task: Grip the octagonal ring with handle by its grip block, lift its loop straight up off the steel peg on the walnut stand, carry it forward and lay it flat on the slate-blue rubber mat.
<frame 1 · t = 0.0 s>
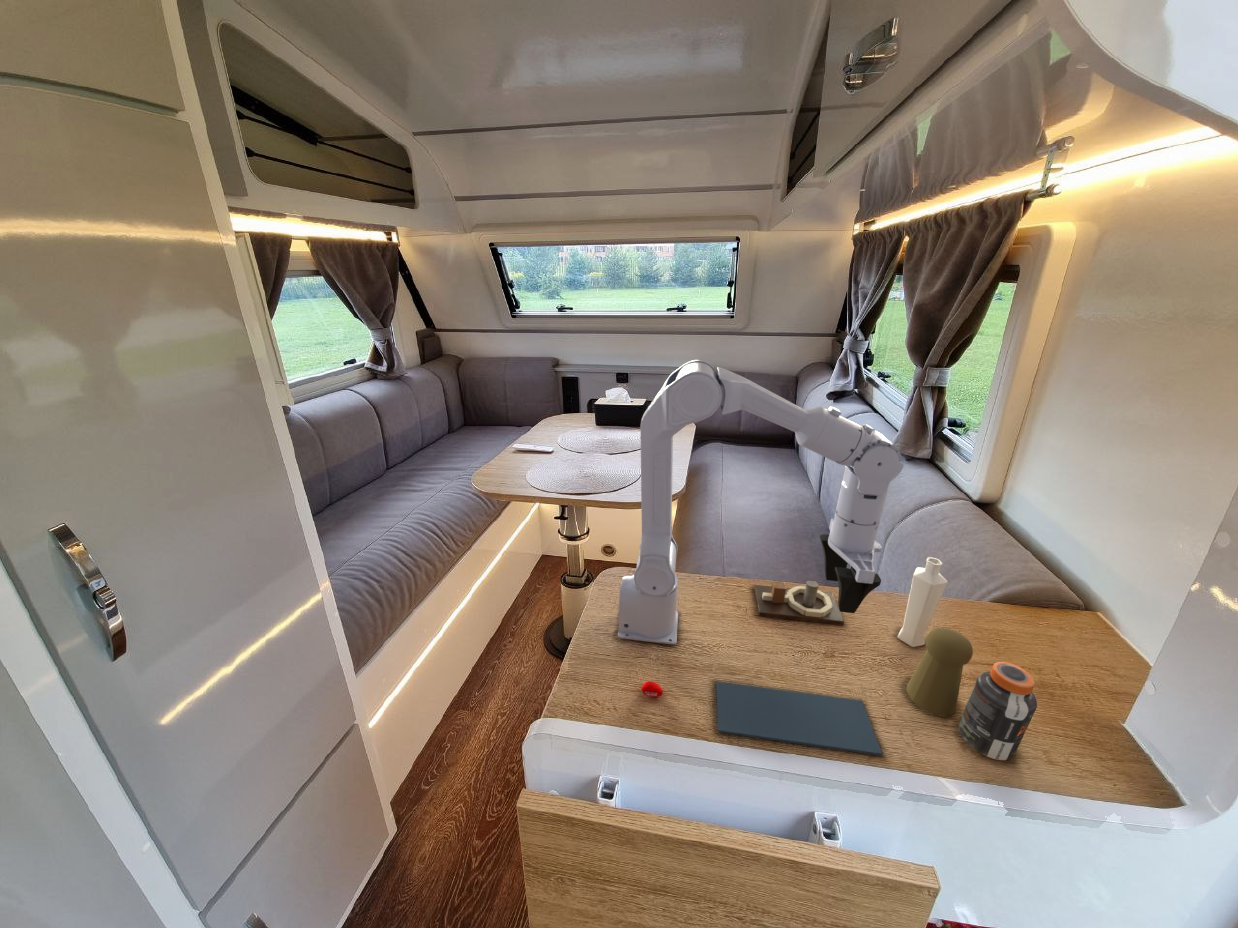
hand: (839, 594, 72), 10 cm above the table, tool pointing down, fingers open, 7 cm apart
peg stand: (807, 606, 85), on the table
pepper shaker: (930, 698, 67), on the table
pill bottle: (984, 741, 61), on the table
octagonal ring with handle: (808, 603, 85), point 1 cm above the table, touching peg stand
mat: (792, 716, 64), on the table
candy: (651, 695, 67), on the table
perfume bottle: (910, 640, 78), on the table
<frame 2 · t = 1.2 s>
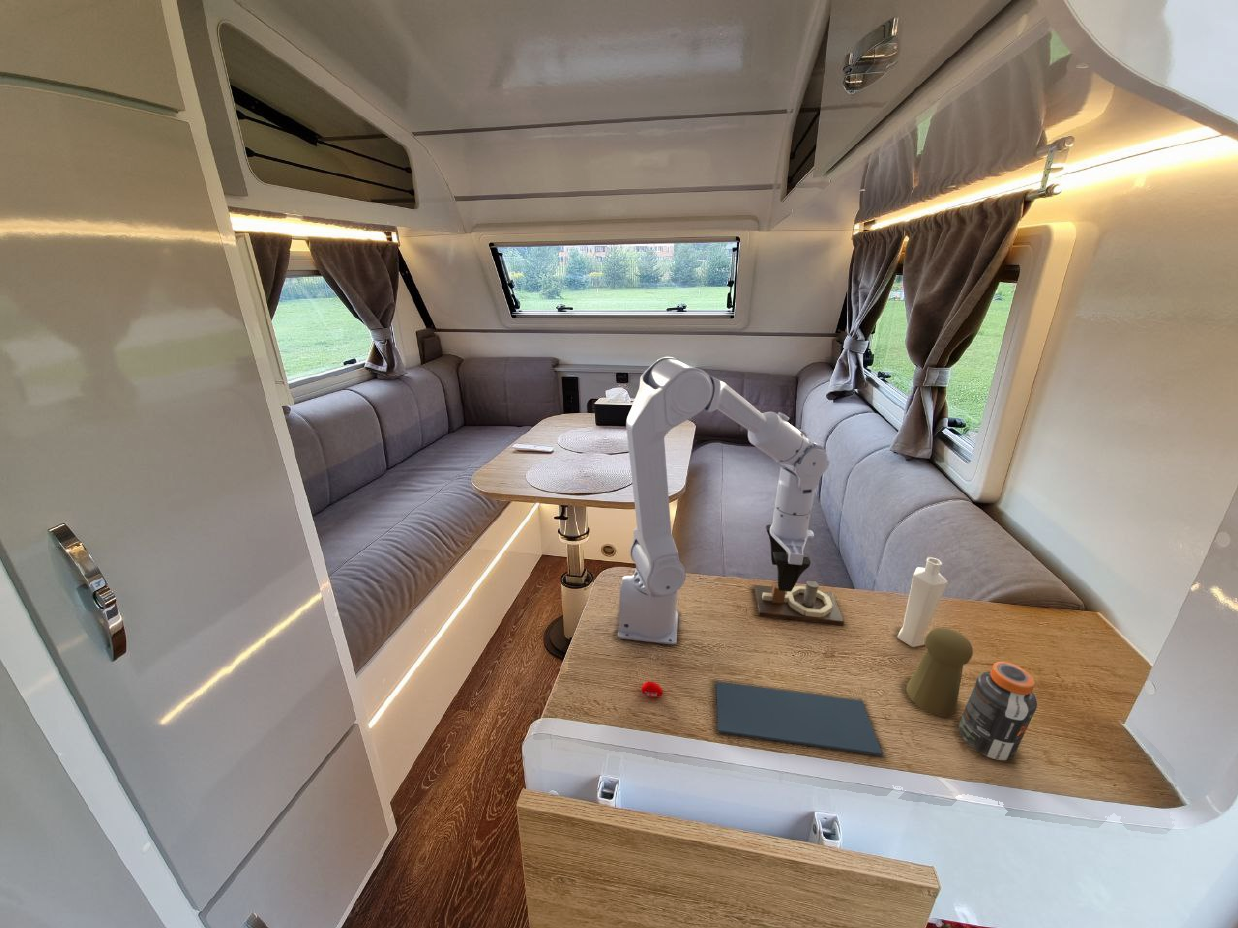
hand: (781, 576, 83), 6 cm above the table, tool pointing down, fingers open, 7 cm apart
nothing on the table moved.
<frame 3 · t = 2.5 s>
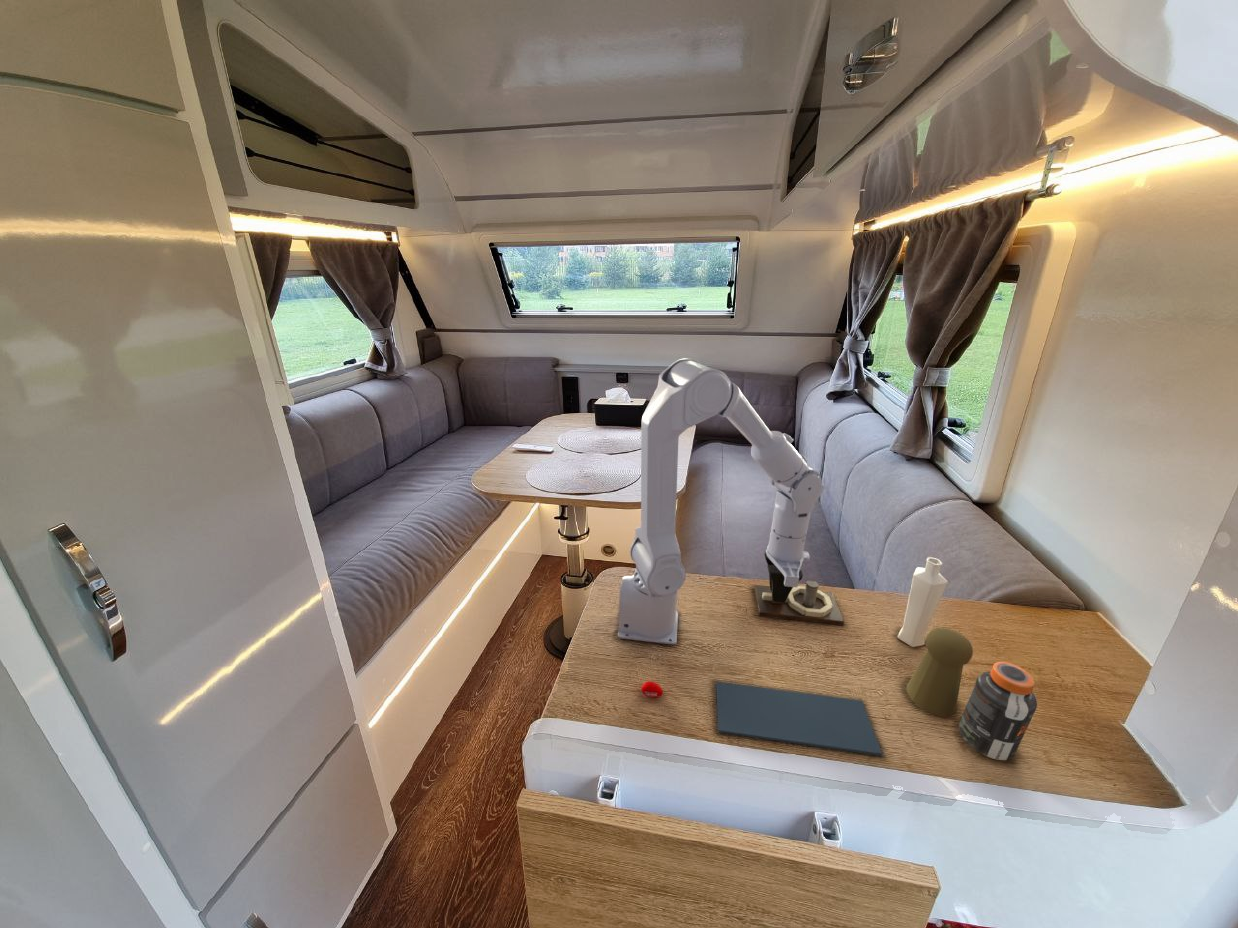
hand: (777, 596, 85), 2 cm above the table, tool pointing down, fingers closed on octagonal ring with handle, 2 cm apart
octagonal ring with handle: (808, 603, 85), point 1 cm above the table, touching gripper, peg stand
everything else where it was.
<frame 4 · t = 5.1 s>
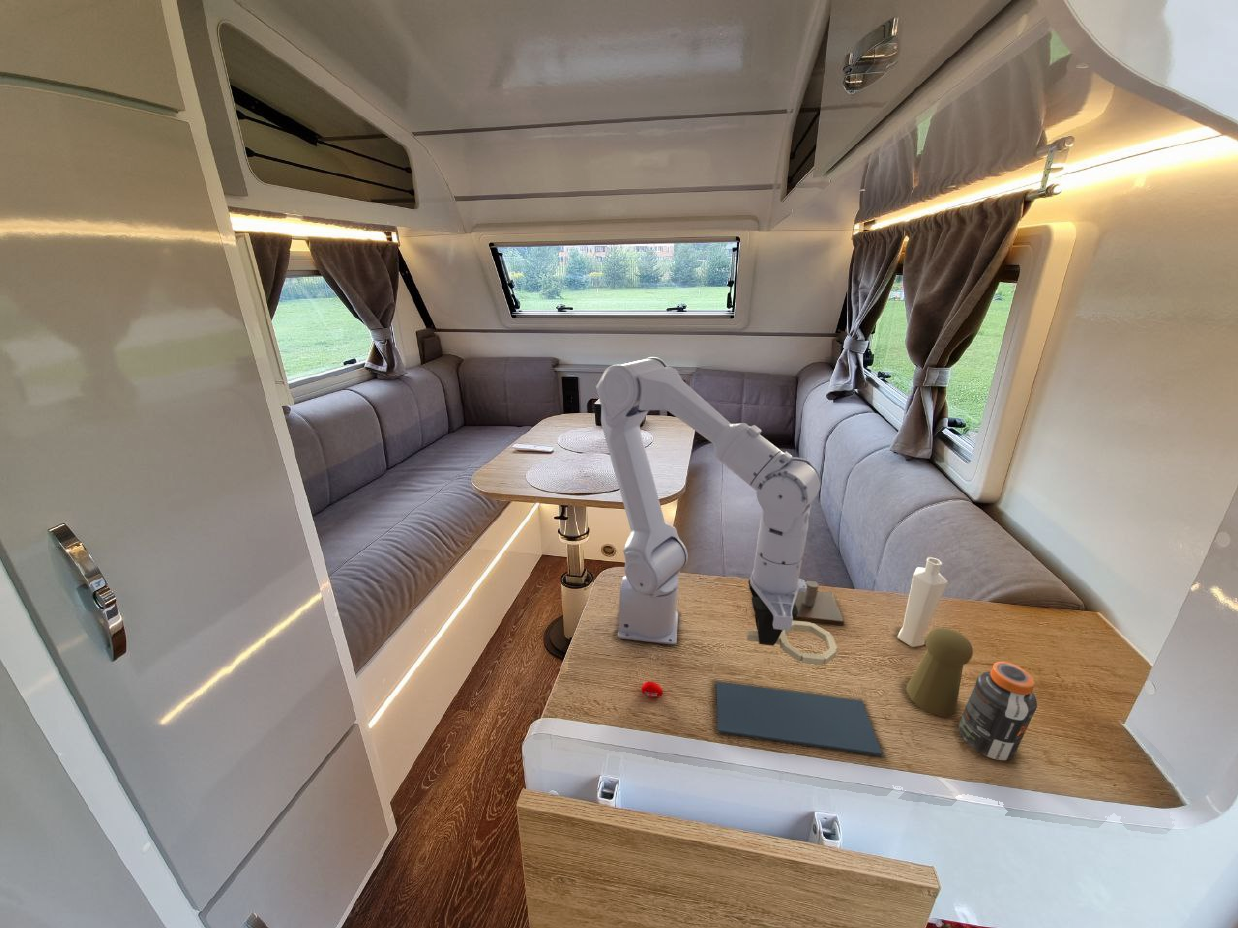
hand: (765, 635, 66), 8 cm above the table, tool pointing down, fingers closed on octagonal ring with handle
octagonal ring with handle: (806, 644, 66), point 8 cm above the table, touching gripper
everything else where it was.
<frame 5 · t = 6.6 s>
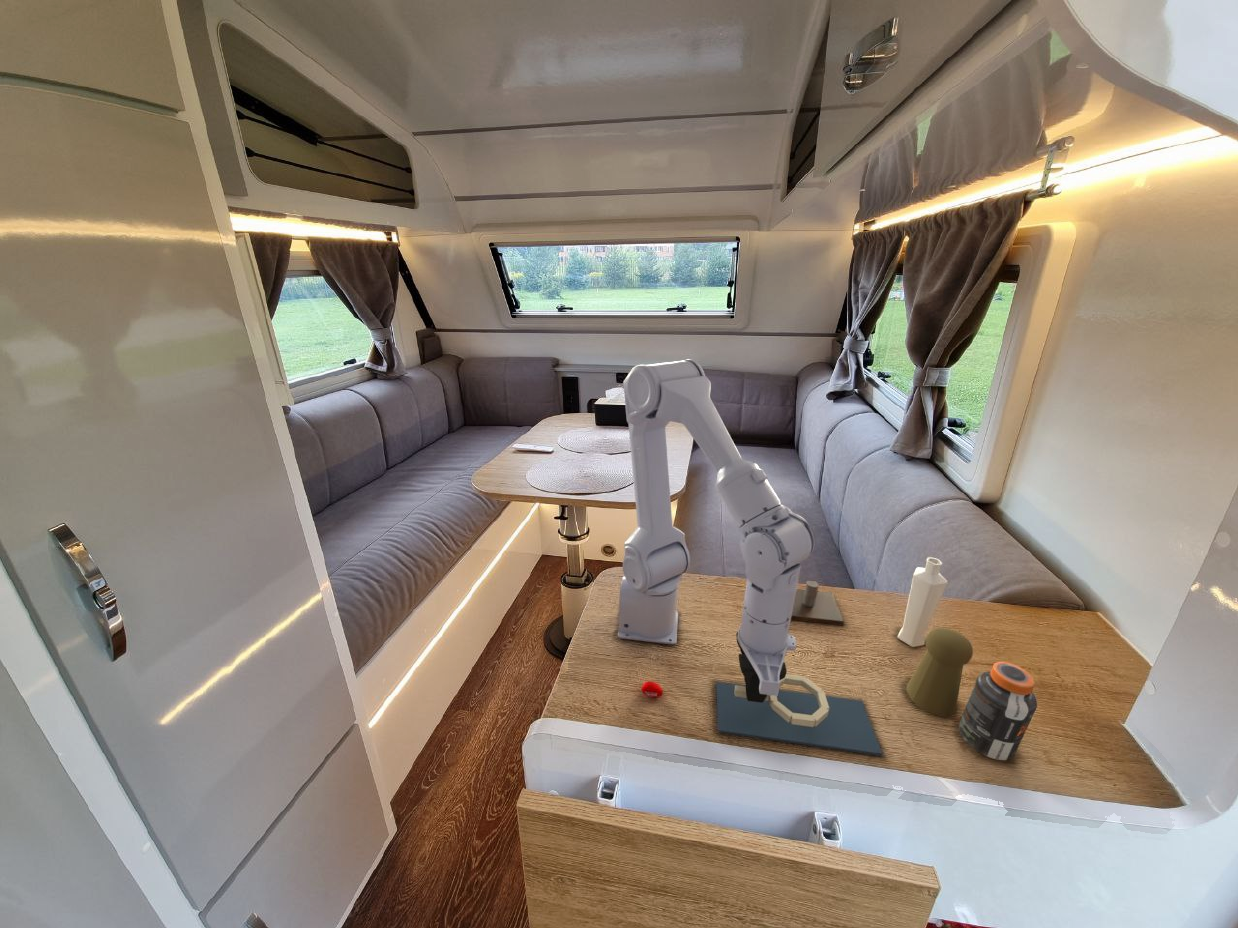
hand: (753, 691, 63), 4 cm above the table, tool pointing down, fingers closed on octagonal ring with handle, 2 cm apart
octagonal ring with handle: (796, 701, 63), point 3 cm above the table, touching gripper
everything else where it was.
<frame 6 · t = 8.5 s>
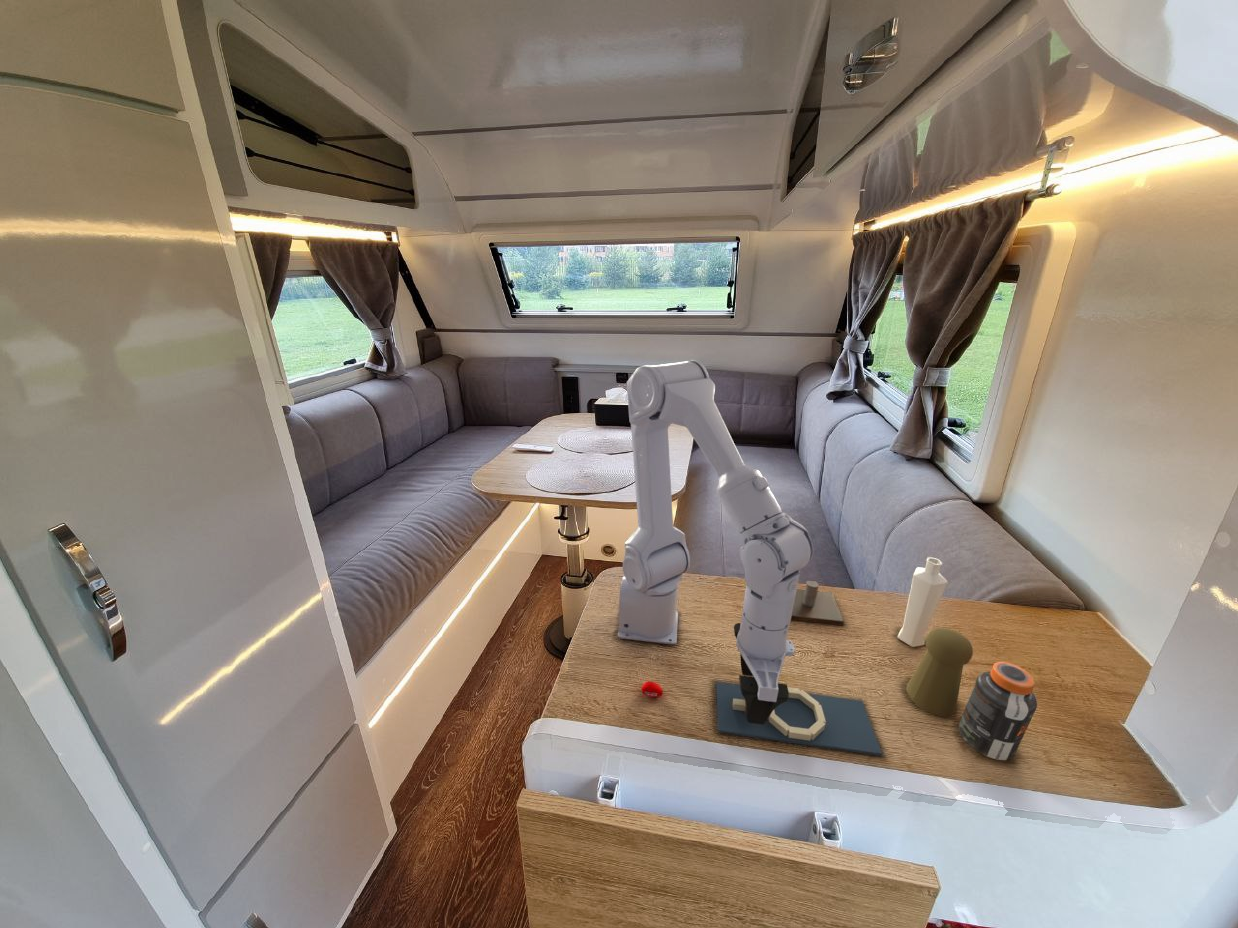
hand: (752, 696, 63), 3 cm above the table, tool pointing down, fingers open, 7 cm apart
octagonal ring with handle: (793, 714, 63), resting on mat
everything else where it was.
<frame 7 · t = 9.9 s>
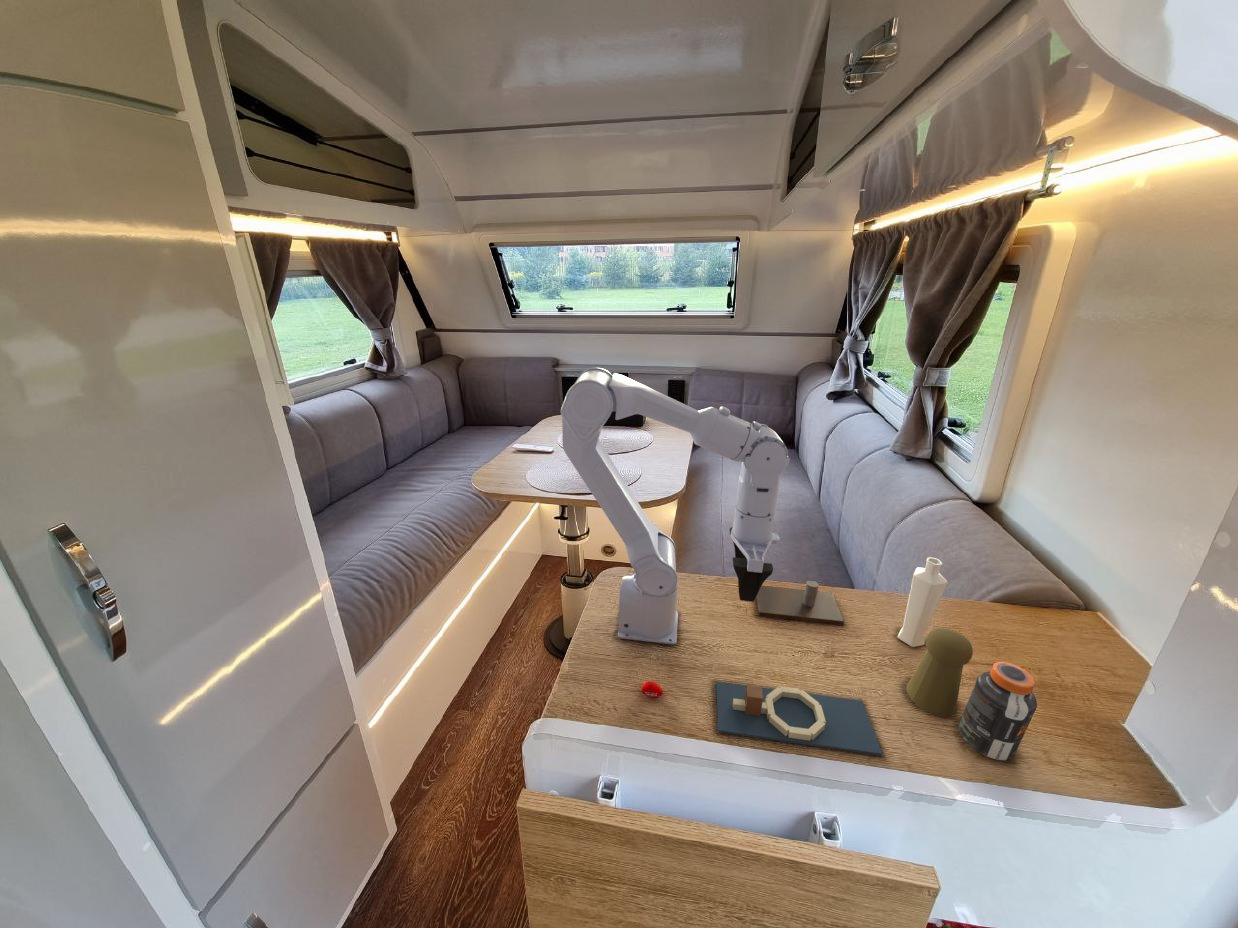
hand: (744, 584, 75), 9 cm above the table, tool pointing down, fingers open, 7 cm apart
nothing on the table moved.
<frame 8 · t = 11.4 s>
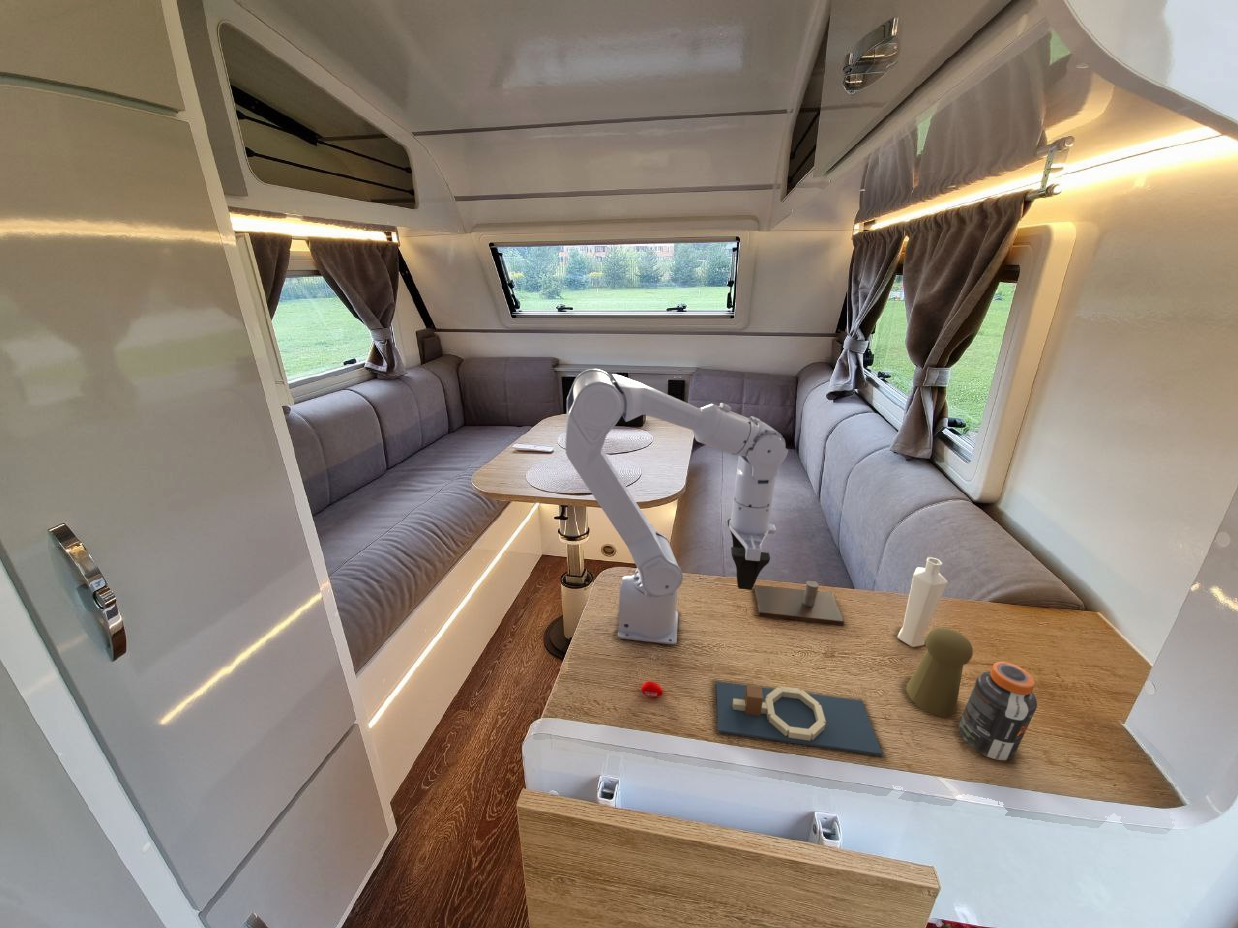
hand: (742, 573, 78), 9 cm above the table, tool pointing down, fingers open, 7 cm apart
nothing on the table moved.
at the end: octagonal ring with handle inside the target area on the mat (0.1 cm from its centre), point 0.4 cm above the mat's base; octagonal ring with handle touching mat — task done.
